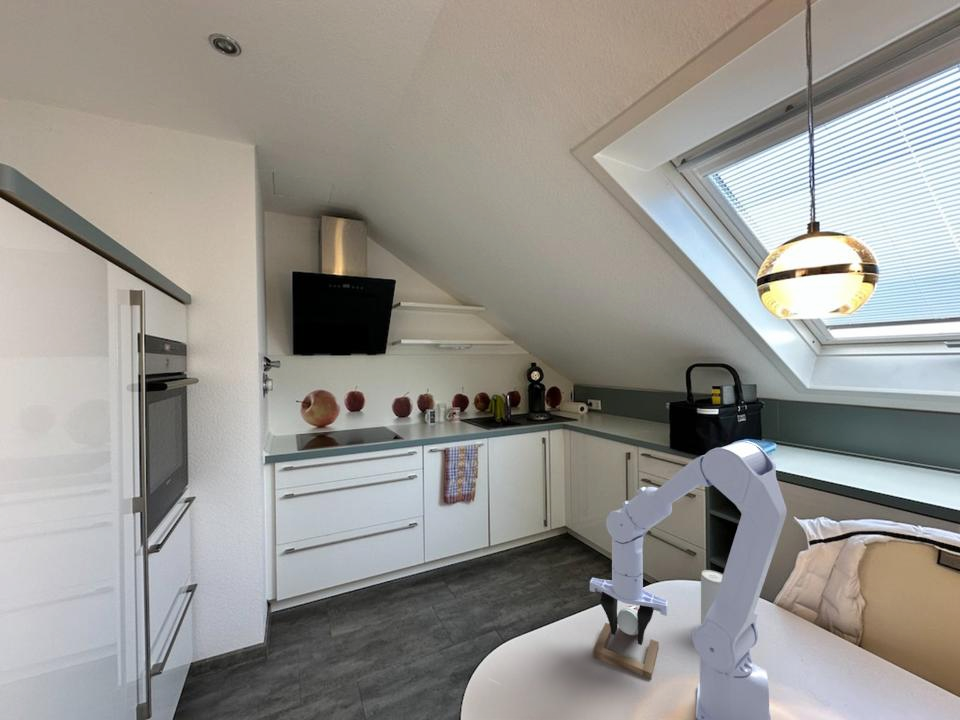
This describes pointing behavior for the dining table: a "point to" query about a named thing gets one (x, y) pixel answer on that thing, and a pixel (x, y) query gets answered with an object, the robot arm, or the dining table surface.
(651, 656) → the socket block
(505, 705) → the dining table surface
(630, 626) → the pill bottle
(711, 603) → the beverage can
